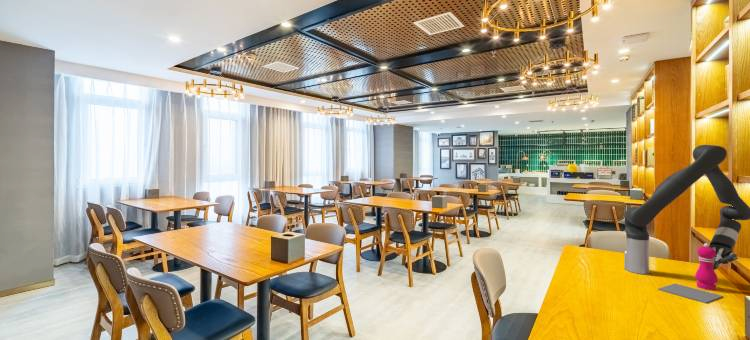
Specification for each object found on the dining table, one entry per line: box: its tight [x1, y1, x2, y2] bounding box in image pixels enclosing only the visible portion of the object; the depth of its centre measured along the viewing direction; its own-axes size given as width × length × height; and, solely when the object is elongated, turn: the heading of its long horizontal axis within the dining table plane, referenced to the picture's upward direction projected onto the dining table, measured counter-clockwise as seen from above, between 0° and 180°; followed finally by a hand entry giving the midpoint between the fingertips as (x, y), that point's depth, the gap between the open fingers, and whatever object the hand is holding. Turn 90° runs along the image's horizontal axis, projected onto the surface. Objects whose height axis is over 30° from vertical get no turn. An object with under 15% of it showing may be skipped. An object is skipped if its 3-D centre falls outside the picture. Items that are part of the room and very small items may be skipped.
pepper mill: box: [694, 242, 719, 291], centre depth 147 cm, size 7×7×20 cm
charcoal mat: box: [658, 283, 724, 304], centre depth 141 cm, size 16×14×1 cm
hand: (711, 268), depth 149 cm, fingers closed
